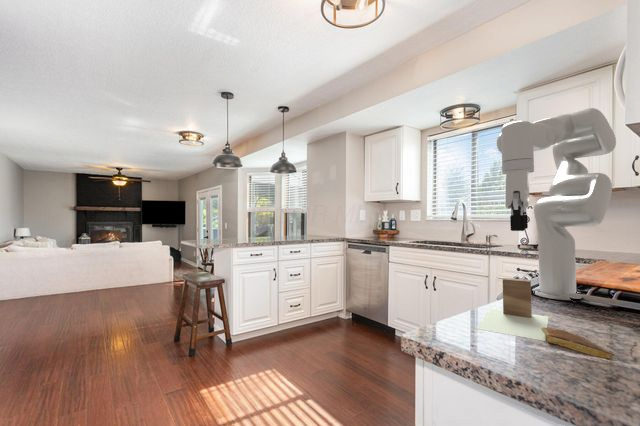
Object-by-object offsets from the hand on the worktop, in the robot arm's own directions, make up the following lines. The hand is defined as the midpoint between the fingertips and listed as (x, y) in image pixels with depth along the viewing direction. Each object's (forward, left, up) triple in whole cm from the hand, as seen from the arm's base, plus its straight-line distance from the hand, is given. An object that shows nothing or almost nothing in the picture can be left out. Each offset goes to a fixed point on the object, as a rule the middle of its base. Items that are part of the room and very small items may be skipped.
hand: (519, 229), depth 90 cm
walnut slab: (+8, 0, -21) cm, 23 cm away
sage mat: (+15, 0, -22) cm, 27 cm away
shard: (+23, +11, -22) cm, 34 cm away
